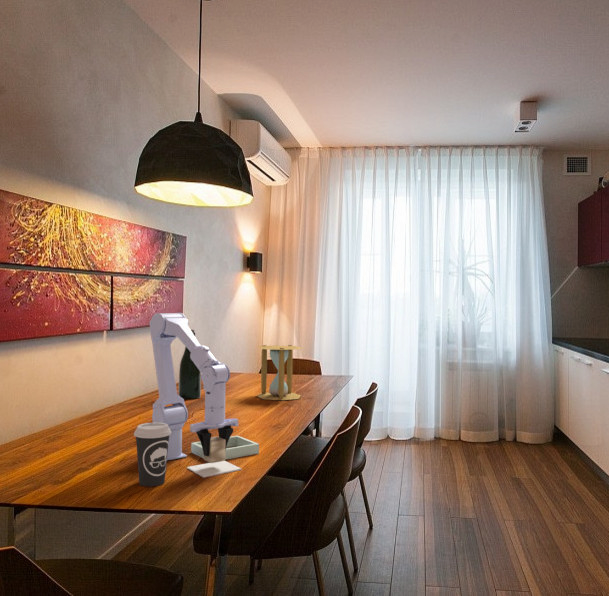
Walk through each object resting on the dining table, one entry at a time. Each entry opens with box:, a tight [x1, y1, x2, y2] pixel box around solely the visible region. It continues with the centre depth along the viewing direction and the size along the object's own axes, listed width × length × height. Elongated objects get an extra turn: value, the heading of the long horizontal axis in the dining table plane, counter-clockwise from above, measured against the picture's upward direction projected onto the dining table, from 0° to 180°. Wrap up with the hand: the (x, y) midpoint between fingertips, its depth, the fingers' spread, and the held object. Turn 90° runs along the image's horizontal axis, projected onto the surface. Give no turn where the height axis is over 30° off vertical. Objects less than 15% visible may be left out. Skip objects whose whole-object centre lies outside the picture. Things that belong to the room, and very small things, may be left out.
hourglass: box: [256, 344, 303, 401], centre depth 281 cm, size 24×22×25 cm
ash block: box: [203, 436, 226, 463], centre depth 163 cm, size 4×4×6 cm
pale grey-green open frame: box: [190, 435, 260, 461], centre depth 180 cm, size 17×13×3 cm
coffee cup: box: [133, 422, 171, 487], centre depth 150 cm, size 10×10×15 cm
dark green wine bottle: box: [178, 329, 202, 400], centre depth 275 cm, size 10×10×33 cm
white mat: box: [186, 460, 242, 478], centre depth 163 cm, size 12×10×1 cm
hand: (214, 454), depth 163 cm, fingers closed on ash block, 4 cm apart
